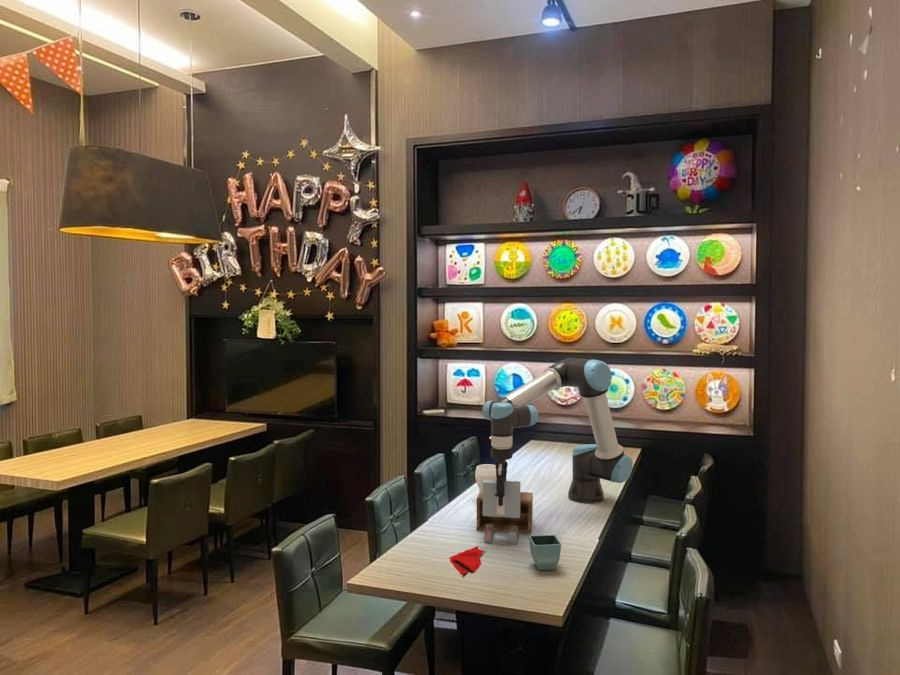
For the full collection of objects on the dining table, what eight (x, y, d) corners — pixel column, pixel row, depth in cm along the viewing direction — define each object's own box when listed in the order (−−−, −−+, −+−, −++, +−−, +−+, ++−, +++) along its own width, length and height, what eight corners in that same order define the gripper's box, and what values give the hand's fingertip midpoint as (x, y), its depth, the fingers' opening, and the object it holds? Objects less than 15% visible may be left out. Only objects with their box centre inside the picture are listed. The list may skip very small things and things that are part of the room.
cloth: (464, 545, 230) (464, 539, 230) (501, 552, 224) (501, 545, 224) (431, 574, 206) (431, 567, 206) (472, 581, 201) (472, 574, 200)
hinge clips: (519, 532, 241) (519, 520, 240) (516, 544, 229) (516, 532, 229) (488, 531, 243) (488, 519, 242) (484, 542, 231) (484, 530, 231)
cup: (498, 506, 271) (498, 470, 270) (473, 505, 273) (473, 469, 272) (501, 499, 282) (501, 464, 281) (477, 497, 284) (477, 463, 283)
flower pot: (528, 562, 214) (528, 535, 213) (554, 561, 215) (555, 534, 214) (533, 573, 205) (534, 545, 205) (561, 572, 206) (561, 544, 205)
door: (482, 515, 232) (482, 482, 232) (484, 511, 237) (484, 479, 236) (519, 518, 230) (519, 484, 229) (520, 514, 234) (520, 480, 234)
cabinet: (532, 523, 251) (532, 492, 250) (530, 533, 240) (531, 501, 239) (480, 520, 254) (480, 489, 254) (476, 530, 243) (476, 498, 243)
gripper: (493, 441, 240) (493, 504, 242) (488, 451, 224) (488, 519, 225) (514, 442, 239) (513, 505, 240) (510, 452, 223) (509, 520, 224)
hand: (501, 512), depth 233 cm, fingers closed on door, 3 cm apart
